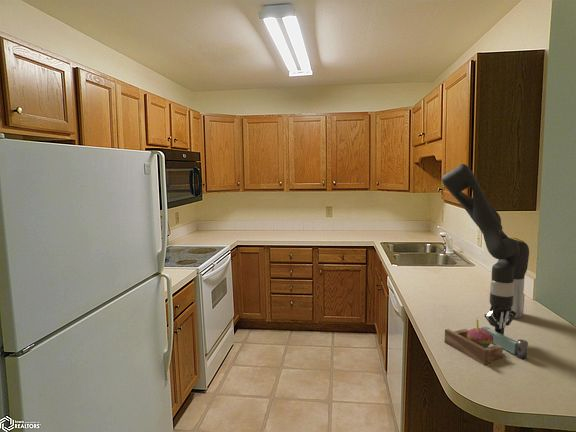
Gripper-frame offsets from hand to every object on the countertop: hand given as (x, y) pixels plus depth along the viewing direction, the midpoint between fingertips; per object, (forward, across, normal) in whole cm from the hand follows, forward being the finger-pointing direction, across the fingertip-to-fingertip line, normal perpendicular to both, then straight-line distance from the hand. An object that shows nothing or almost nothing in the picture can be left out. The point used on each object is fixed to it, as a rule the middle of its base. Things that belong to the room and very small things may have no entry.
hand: (499, 336), depth 139 cm
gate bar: (+1, -3, -3) cm, 5 cm away
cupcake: (+2, -12, -3) cm, 12 cm away
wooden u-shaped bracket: (+1, -14, -3) cm, 15 cm away
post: (+1, -3, -12) cm, 12 cm away
